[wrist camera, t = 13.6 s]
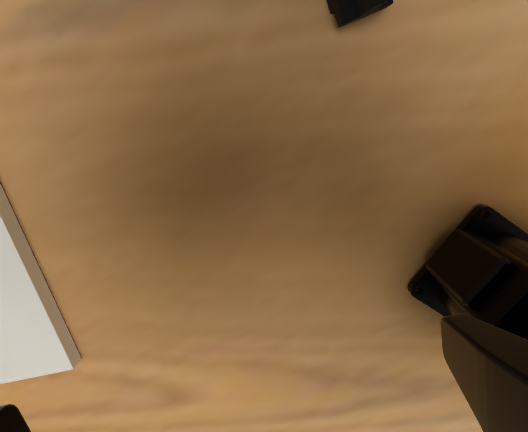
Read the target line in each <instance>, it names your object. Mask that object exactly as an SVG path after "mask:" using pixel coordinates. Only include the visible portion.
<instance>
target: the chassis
mask: <svg viewBox="0 0 528 432" xmlns="http://www.w3.org/2000/svg"><path fill="white" fill-rule="evenodd" d="M80 359H81V356H80V354H79V352H78V350H77V348H76V346H75V343H74V341H73V339H72V337H71V335H70V333H69V330H68V328H67V326H66V324H65V322H64V320H63V317H62V315H61V313H60V311H59V309H58V307H57V305H56V302H55V300H54V298H53V296H52V294H51V292H50V289H49V287H48V285H47V283H46V281H45V279H44V276H43V274H42V272H41V270H40V268H39V266H38V264H37V261H36V259H35V257H34V255H33V253H32V251H31V248H30V246H29V244H28V242H27V240H26V238H25V235H24V233H23V231H22V229H21V227H20V225H19V222H18V220H17V218H16V216H15V214H14V212H13V210H12V207H11V205H10V203H9V201H8V199H7V197H6V194H5V192H4V190H3V188H2V186H1V184H0V384H3V383H8V382H13V381H18V380H23V379H28V378H33V377H38V376H42V375H47V374H52V373H57V372H62V371H67V370H72V369H74V368H75V366H76V365H77V363H78V362H79V360H80Z"/></svg>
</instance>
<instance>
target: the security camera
mask: <svg viewBox="0 0 528 432" xmlns="http://www.w3.org/2000/svg"><path fill="white" fill-rule="evenodd" d="M392 3H393V0H327V4H328V7H329V11H330V14H331V13H333V12H335V16H336V19H337V23H338V26H339V27H341V26H344V25H346V24H349V23H351V22H353V21H356V20H358V19H360V18H363V17H365V16H368V15H370V14H372V13H375V12H377V11H379V10H382V9H384V8H387V7H388V6H390V5H391V4H392Z"/></svg>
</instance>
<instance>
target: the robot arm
mask: <svg viewBox="0 0 528 432" xmlns="http://www.w3.org/2000/svg"><path fill="white" fill-rule="evenodd" d="M484 211H485V215H484V216H483V217H481V214H482V212H484ZM417 287H420V289H419V290H417V291H415V289H416V288H417ZM408 290H409V292H410V293H411V295H412V296H413V297H415V298H416V299H418V300H420V301H421V302H423V303H424V304H426V305H427V306H429V307H431V308H432V309H434V310H435V311H437V312H439V313H440V314H442V315H443V316H445V317H443V318H442V319H441V334H442V346H443V354H444V357H445V360H446V362H447V364H448V366H449V368H450V370H451V372H452V374H453V376H454V377H455V379H456V381H457V383H458V385H459V387H460V389H461V390H462V392H463V394H464V396H465V398H466V400H467V402H468V403H469V405H470V407H471V409H472V411H473V413H474V415H475V417H476V418H477V420H478V422H479V424H480V426H481V428H482V430H483V432H528V234H527V233H525V232H524V231H522V230H521V229H520V228H518V227H517V226H516V225H514V224H513V223H512V222H510V221H509V220H507V219H506V218H505V217H503V216H502V215H501V214H499V213H498V212H496V211H495V210H494V209H492V208H491V207H488V206H486V205H479V206H477V207H476V208H474V210H473V211H472V212H471V213H470V214H469V215H468V216H467V218H466V219H465V220H464V221H463V222H462V223H461V225H460V226H459V227H458V228H457V229H456V230H455V231H453V233H452V234H451V235H450V236H449V237H448V238H447V239H446V241H445V242H444V243H443V244H442V245H441V246H440V248H439V249H438V250H437V251H436V252H435V253H434V254H433V256H432V257H431V258H430V259H429V260H428V261H427V263H426V265H425V266H424V267H423V268H422V270H421V271H420V272H419V273H418V274H417V275H416V276H415V278H414V279H413V280H412V281H411V282H410V284H409V285H408ZM0 432H31V431H30V429H29V427H28V425H27V423H26V422H25V420H24V418H23V416H22V415H21V413H20V411H19V409H18V408H17V407H16V406H15V405H12V404H8V405H3V406H0Z"/></svg>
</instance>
